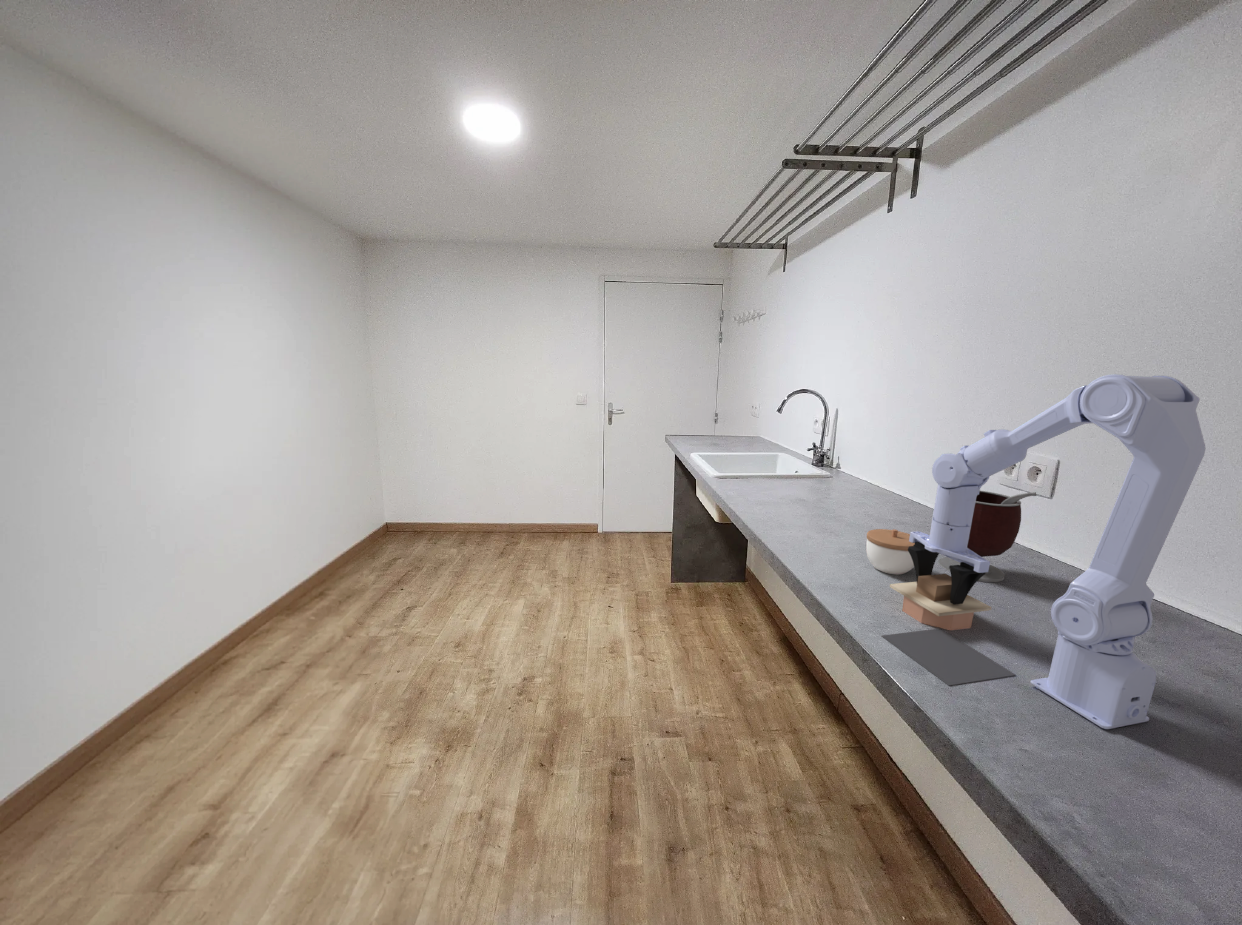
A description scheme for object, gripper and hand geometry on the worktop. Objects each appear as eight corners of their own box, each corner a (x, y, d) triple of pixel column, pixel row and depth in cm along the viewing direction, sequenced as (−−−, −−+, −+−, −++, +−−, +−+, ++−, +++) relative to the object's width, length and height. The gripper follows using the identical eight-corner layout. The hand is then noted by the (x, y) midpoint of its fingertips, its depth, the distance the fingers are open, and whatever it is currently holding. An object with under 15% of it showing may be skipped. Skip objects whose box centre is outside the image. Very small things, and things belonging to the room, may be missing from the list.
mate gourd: (925, 567, 112) (939, 481, 108) (944, 553, 121) (958, 473, 117) (1009, 592, 100) (1029, 497, 96) (1024, 574, 110) (1043, 487, 105)
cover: (991, 610, 86) (994, 591, 85) (938, 616, 83) (942, 596, 82) (937, 582, 96) (940, 565, 95) (889, 587, 93) (892, 569, 93)
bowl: (984, 628, 87) (988, 609, 86) (935, 634, 84) (938, 615, 83) (934, 599, 96) (937, 583, 96) (889, 604, 94) (891, 587, 93)
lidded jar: (925, 583, 104) (932, 541, 102) (870, 577, 106) (875, 536, 104) (907, 563, 114) (913, 524, 112) (857, 558, 116) (862, 520, 114)
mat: (1015, 677, 73) (1015, 674, 73) (948, 688, 70) (949, 685, 70) (940, 630, 85) (940, 628, 85) (881, 638, 82) (881, 635, 82)
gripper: (900, 510, 92) (889, 577, 95) (970, 537, 79) (956, 615, 81) (931, 508, 94) (920, 575, 97) (1005, 535, 80) (990, 611, 83)
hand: (938, 593), depth 89 cm, fingers open, 7 cm apart
